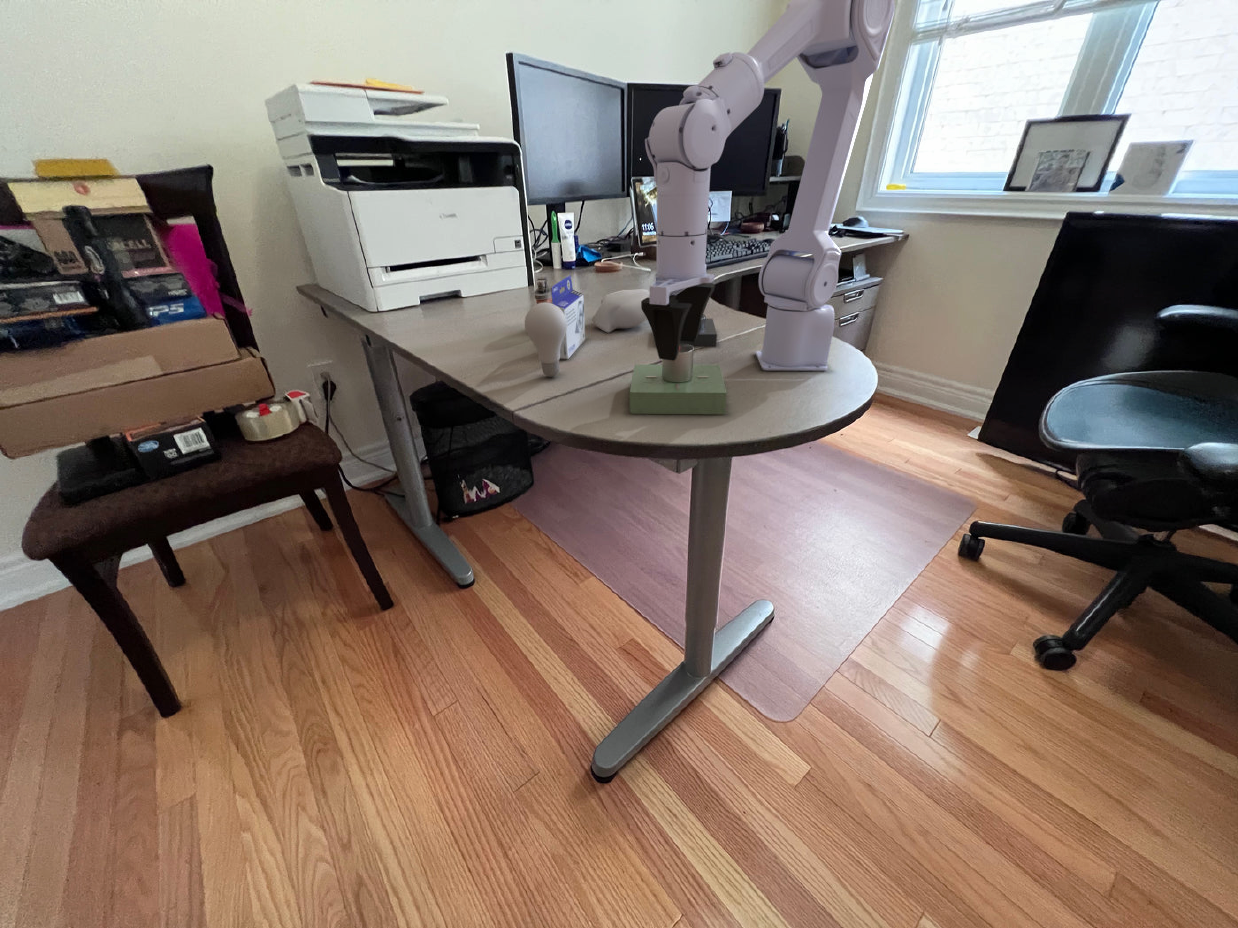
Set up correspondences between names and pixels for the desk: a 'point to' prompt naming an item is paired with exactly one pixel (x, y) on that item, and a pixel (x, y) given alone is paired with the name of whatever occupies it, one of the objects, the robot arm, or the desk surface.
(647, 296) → the shell shaped sculpture
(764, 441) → the desk surface
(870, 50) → the robot arm
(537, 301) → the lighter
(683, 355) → the lock knob
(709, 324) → the button base
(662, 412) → the panel
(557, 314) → the lightbulb
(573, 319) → the ink box
